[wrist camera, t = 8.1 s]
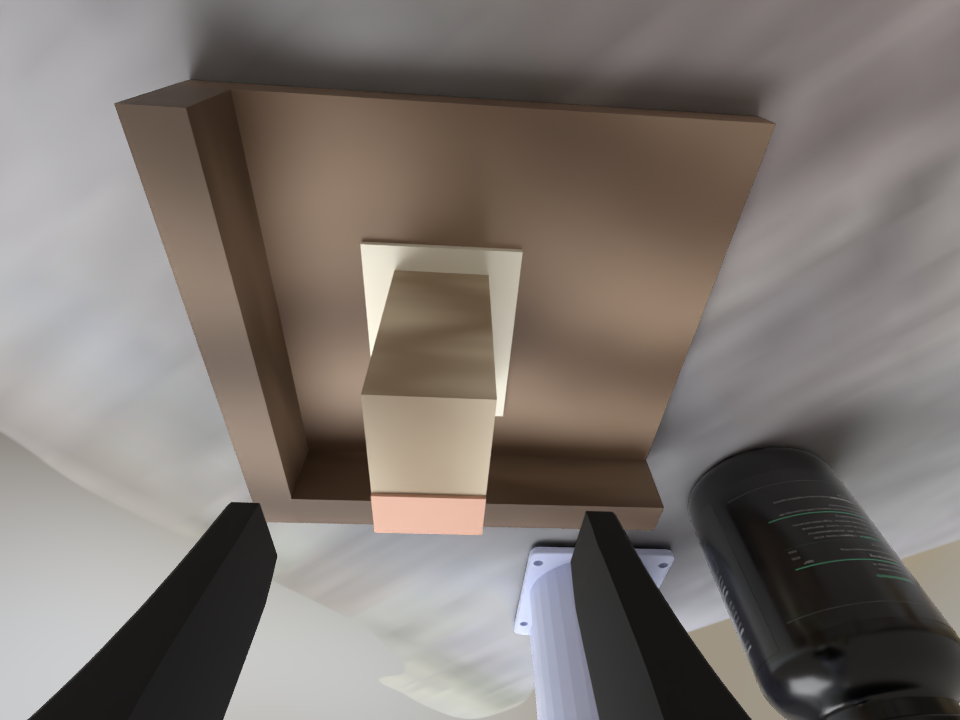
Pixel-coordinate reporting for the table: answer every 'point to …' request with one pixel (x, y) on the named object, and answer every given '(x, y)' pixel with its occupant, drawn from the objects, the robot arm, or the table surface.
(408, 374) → the maple block
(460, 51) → the table surface
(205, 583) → the robot arm
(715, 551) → the supplement bottle
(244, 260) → the corner board
